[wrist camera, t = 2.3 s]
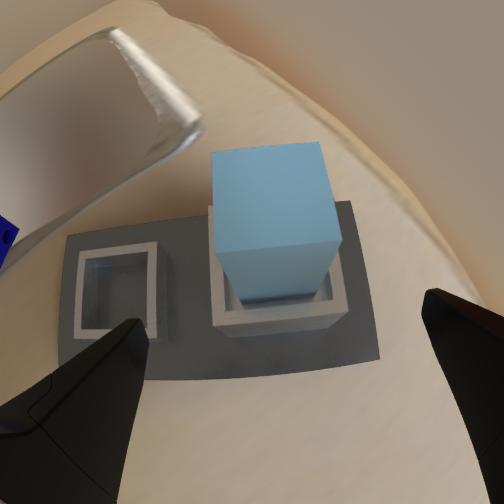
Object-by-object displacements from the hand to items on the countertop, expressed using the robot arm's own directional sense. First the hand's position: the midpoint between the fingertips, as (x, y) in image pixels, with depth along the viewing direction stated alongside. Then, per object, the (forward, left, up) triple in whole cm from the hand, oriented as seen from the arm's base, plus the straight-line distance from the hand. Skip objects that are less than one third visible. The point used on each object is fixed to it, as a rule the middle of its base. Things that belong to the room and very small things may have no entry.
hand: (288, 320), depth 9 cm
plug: (+3, -2, -6) cm, 7 cm away
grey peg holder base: (+6, +1, -12) cm, 13 cm away
